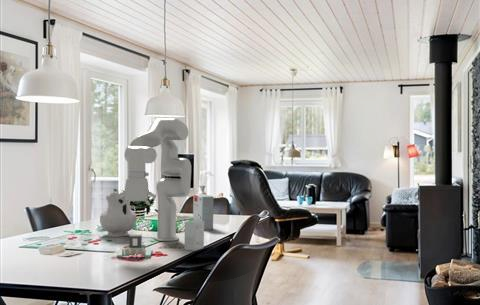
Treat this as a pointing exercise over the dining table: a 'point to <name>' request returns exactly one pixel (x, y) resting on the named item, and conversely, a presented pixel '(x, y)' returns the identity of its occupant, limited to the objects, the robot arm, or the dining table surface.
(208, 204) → the hard drive box
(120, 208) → the ceramic pitcher
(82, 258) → the dining table surface
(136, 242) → the plug
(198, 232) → the small box
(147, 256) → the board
